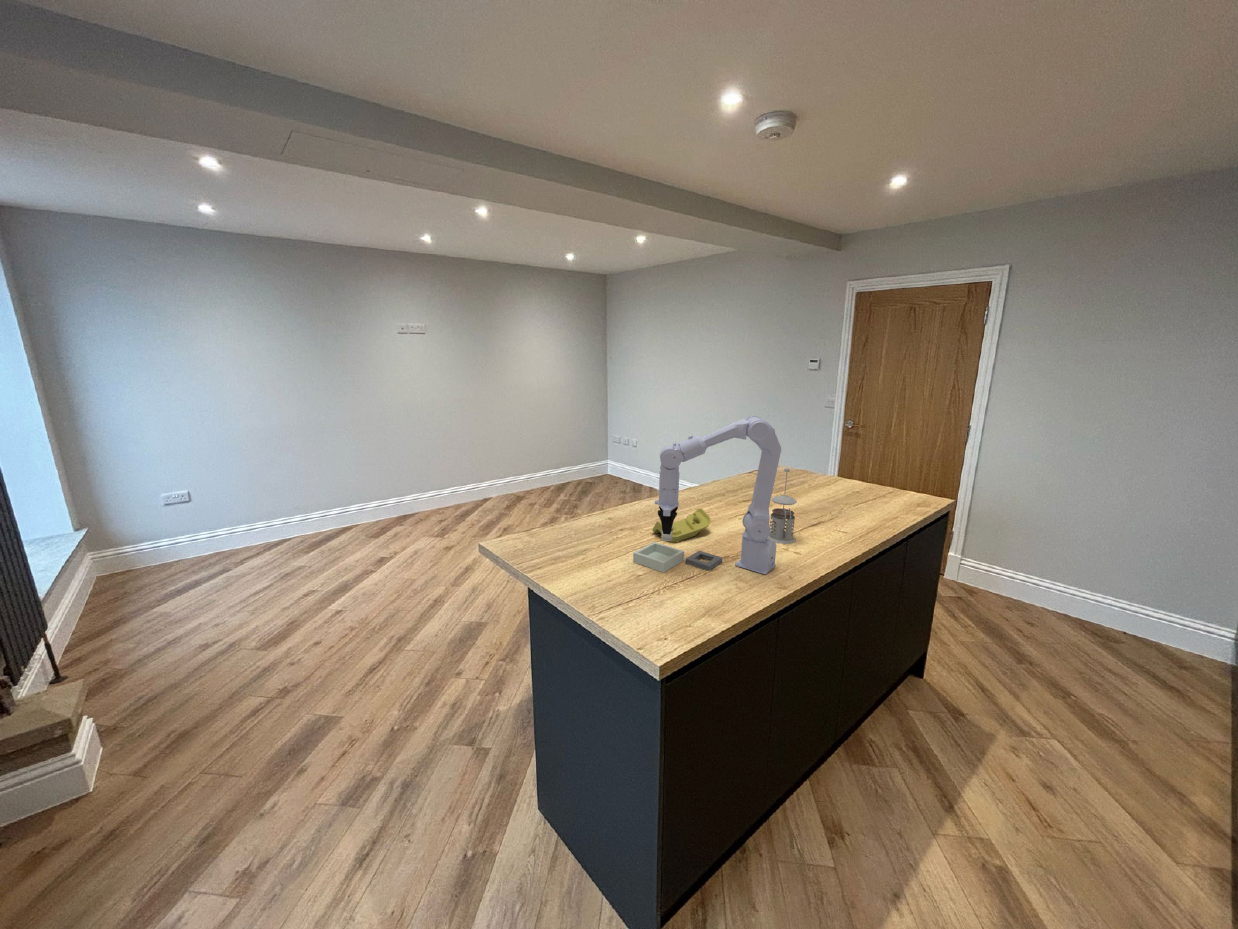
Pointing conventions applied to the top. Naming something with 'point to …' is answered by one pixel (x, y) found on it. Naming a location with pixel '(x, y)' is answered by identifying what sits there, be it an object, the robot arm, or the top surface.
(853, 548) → the top surface
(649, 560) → the parts tray
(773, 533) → the french press
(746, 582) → the top surface
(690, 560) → the gray square frame
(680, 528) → the plastic component
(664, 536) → the cylinder
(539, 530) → the top surface
